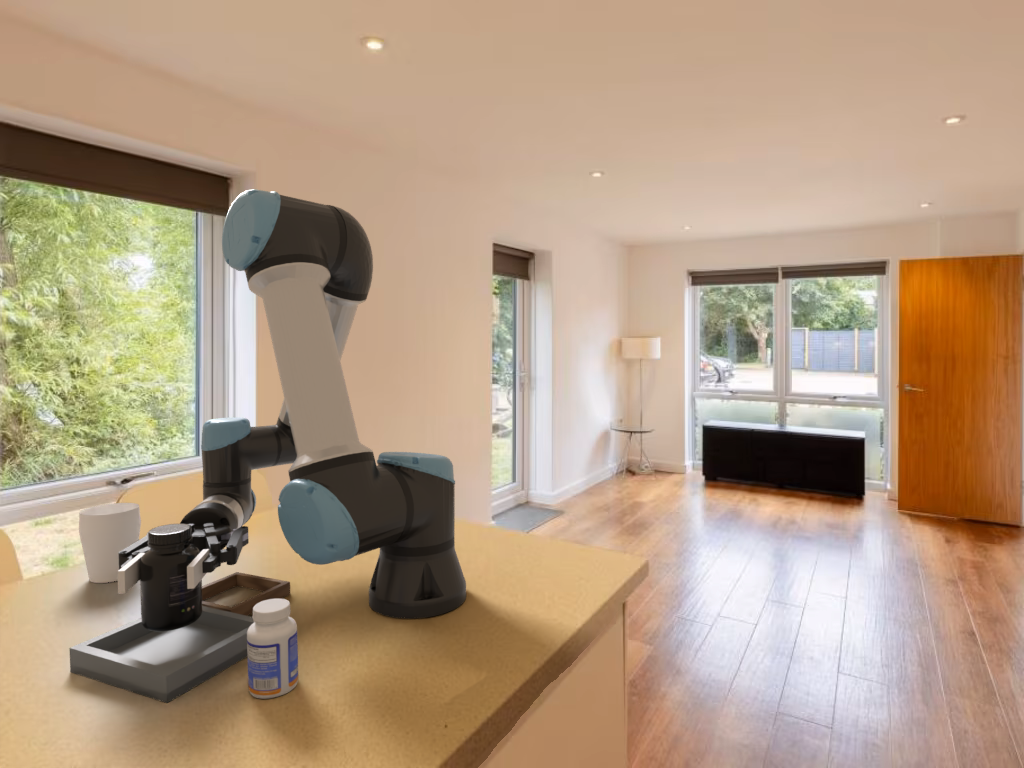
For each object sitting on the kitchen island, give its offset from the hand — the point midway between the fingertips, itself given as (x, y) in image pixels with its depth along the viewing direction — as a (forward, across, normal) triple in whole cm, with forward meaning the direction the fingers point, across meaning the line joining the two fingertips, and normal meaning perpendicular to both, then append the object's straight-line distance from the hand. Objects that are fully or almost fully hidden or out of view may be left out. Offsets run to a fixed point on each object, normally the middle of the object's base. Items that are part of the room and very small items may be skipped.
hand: (156, 579), depth 71 cm
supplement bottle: (-5, 0, -7) cm, 9 cm away
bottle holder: (-21, -3, -12) cm, 25 cm away
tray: (-5, 0, -12) cm, 13 cm away
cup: (-38, +20, -12) cm, 45 cm away
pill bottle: (+6, -14, -12) cm, 19 cm away
